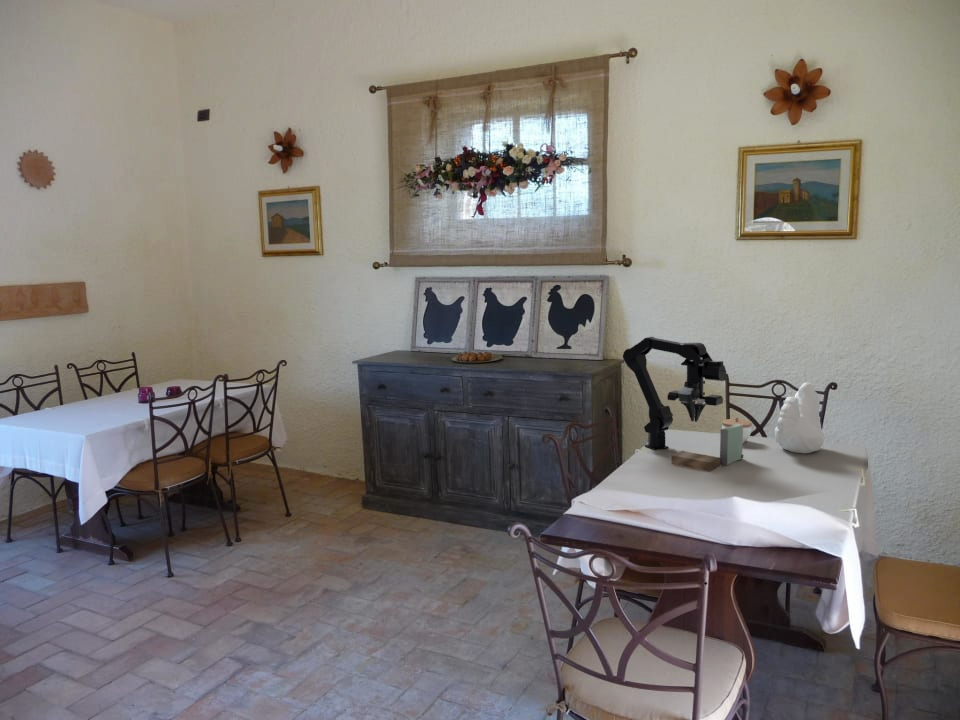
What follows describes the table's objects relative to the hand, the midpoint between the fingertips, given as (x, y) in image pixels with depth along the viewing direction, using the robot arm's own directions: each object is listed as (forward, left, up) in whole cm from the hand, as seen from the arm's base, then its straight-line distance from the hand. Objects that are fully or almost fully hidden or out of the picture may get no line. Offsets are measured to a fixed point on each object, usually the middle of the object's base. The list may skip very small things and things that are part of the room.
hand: (694, 421), depth 254 cm
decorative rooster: (+12, +34, -12) cm, 38 cm away
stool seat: (+11, -8, -12) cm, 18 cm away
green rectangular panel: (+14, +5, -12) cm, 19 cm away
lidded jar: (-8, +26, -12) cm, 29 cm away
